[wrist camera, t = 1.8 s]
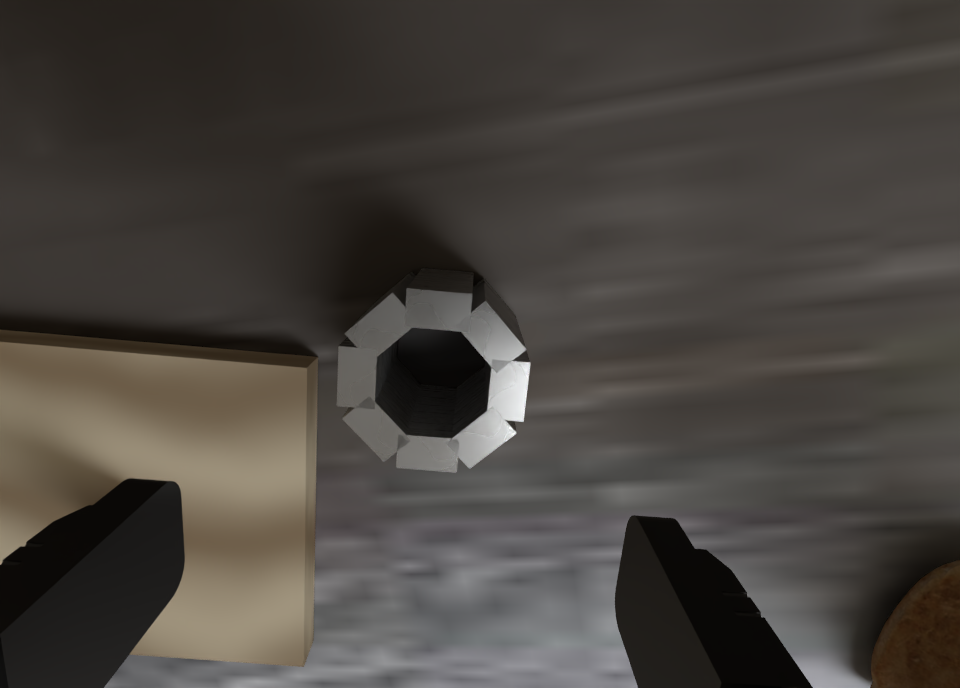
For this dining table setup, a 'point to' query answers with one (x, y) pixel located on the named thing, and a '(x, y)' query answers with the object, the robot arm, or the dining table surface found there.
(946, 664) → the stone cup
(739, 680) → the robot arm
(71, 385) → the post stand
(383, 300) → the ring
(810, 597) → the dining table surface
